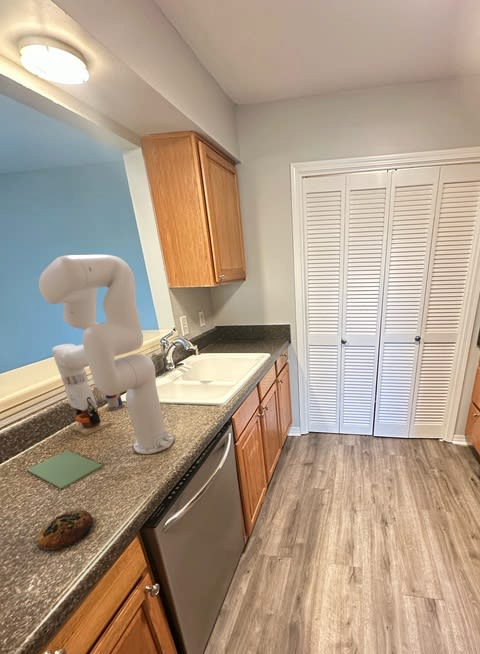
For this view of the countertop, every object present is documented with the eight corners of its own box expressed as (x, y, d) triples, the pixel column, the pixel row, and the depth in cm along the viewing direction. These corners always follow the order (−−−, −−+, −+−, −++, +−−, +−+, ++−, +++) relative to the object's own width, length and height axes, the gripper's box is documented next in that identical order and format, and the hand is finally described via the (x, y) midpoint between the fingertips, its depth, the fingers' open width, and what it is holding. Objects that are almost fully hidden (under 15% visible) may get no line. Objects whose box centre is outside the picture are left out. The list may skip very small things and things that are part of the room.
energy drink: (117, 410, 139) (109, 384, 134) (106, 409, 140) (98, 383, 135) (125, 405, 144) (118, 379, 139) (115, 404, 145) (107, 379, 140)
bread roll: (84, 545, 72) (74, 528, 70) (31, 560, 70) (19, 544, 68) (102, 512, 82) (93, 496, 80) (56, 525, 80) (46, 509, 79)
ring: (104, 416, 125) (103, 412, 124) (84, 424, 119) (83, 421, 118) (92, 412, 128) (91, 409, 128) (73, 420, 122) (71, 417, 122)
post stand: (110, 424, 127) (104, 407, 124) (86, 435, 120) (80, 417, 117) (96, 420, 131) (91, 403, 128) (73, 430, 124) (67, 412, 121)
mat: (102, 466, 100) (102, 465, 100) (61, 489, 91) (60, 487, 91) (67, 451, 110) (67, 450, 109) (27, 470, 100) (26, 469, 100)
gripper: (51, 378, 118) (67, 421, 125) (77, 385, 110) (93, 430, 117) (72, 372, 124) (87, 413, 131) (99, 378, 116) (112, 421, 123)
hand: (89, 421), depth 124 cm, fingers closed on ring, 7 cm apart
